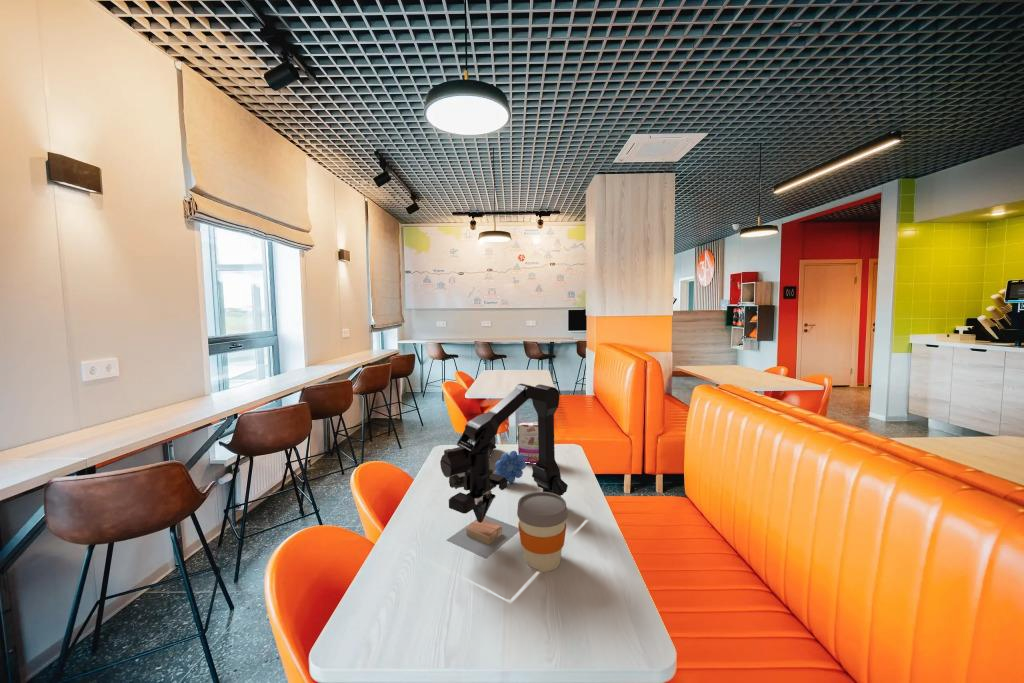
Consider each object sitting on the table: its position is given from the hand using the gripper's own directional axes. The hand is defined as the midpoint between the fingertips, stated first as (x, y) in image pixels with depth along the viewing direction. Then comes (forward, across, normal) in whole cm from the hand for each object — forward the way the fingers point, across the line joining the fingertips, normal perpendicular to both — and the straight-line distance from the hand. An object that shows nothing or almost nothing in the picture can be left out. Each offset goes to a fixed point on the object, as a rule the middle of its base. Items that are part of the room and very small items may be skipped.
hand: (480, 521), depth 108 cm
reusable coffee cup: (+5, -2, +19) cm, 19 cm away
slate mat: (+5, -2, 0) cm, 5 cm away
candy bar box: (+5, -54, -17) cm, 57 cm away
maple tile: (+3, -5, 0) cm, 6 cm away
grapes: (+5, -34, -14) cm, 37 cm away
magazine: (+5, -44, -34) cm, 55 cm away
